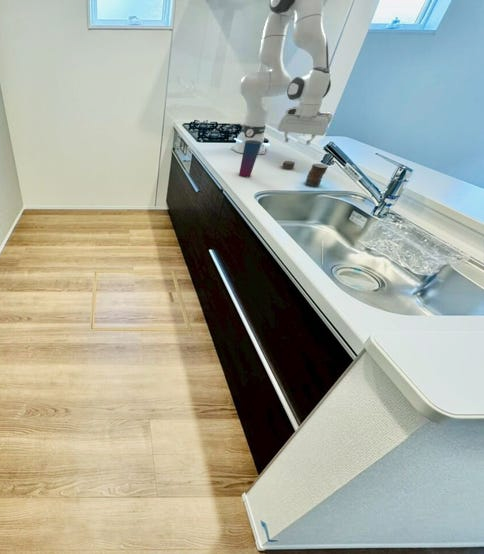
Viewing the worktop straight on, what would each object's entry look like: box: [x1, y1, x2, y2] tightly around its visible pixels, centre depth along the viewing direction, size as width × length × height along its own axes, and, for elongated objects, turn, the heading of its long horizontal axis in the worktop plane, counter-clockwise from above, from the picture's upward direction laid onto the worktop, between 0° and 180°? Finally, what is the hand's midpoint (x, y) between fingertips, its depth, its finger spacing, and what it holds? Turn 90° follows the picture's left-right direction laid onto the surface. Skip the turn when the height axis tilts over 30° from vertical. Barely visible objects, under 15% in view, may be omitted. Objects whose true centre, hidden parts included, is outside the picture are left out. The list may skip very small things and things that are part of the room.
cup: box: [238, 140, 262, 178], centre depth 137 cm, size 7×7×15 cm
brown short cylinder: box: [281, 160, 296, 170], centre depth 150 cm, size 5×5×3 cm
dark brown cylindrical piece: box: [304, 163, 329, 188], centre depth 129 cm, size 6×6×8 cm
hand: (296, 143), depth 143 cm, fingers open, 8 cm apart
